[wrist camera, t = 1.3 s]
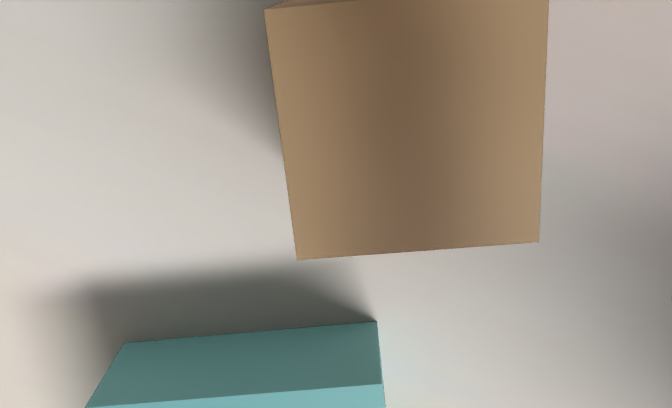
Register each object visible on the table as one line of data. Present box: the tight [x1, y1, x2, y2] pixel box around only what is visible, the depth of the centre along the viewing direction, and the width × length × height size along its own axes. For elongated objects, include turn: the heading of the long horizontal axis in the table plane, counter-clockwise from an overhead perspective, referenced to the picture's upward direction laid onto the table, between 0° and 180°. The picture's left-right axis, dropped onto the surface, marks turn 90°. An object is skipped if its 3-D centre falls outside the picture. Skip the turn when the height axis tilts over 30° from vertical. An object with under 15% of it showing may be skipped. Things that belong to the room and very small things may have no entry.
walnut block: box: [264, 0, 549, 260], centre depth 16 cm, size 6×6×6 cm
